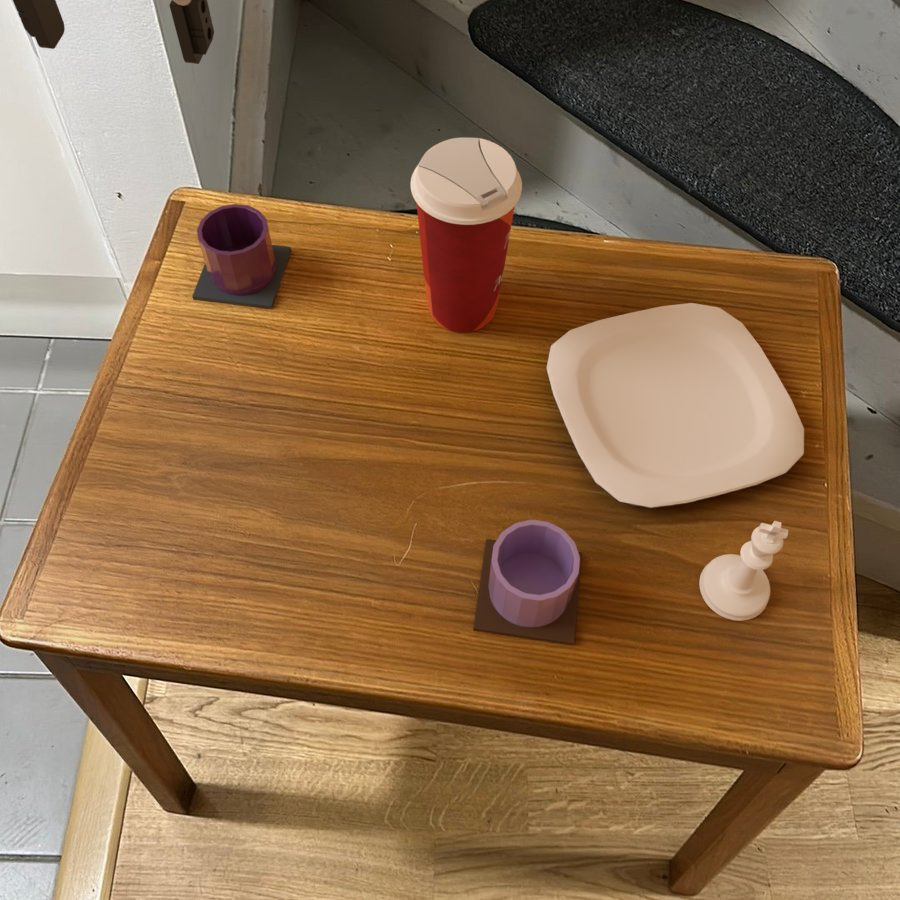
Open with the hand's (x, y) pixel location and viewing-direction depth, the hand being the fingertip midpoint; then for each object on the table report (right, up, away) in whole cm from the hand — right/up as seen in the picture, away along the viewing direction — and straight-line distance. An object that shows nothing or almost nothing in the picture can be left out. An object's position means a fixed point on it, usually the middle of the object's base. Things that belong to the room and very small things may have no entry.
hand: (124, 47), depth 53 cm
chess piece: (+39, -33, +13) cm, 53 cm away
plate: (+36, -20, +21) cm, 47 cm away
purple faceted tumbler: (+1, -7, +28) cm, 29 cm away
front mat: (+24, -33, +13) cm, 43 cm away
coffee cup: (+20, -11, +27) cm, 35 cm away
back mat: (0, -8, +28) cm, 29 cm away
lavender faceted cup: (+24, -33, +12) cm, 43 cm away
